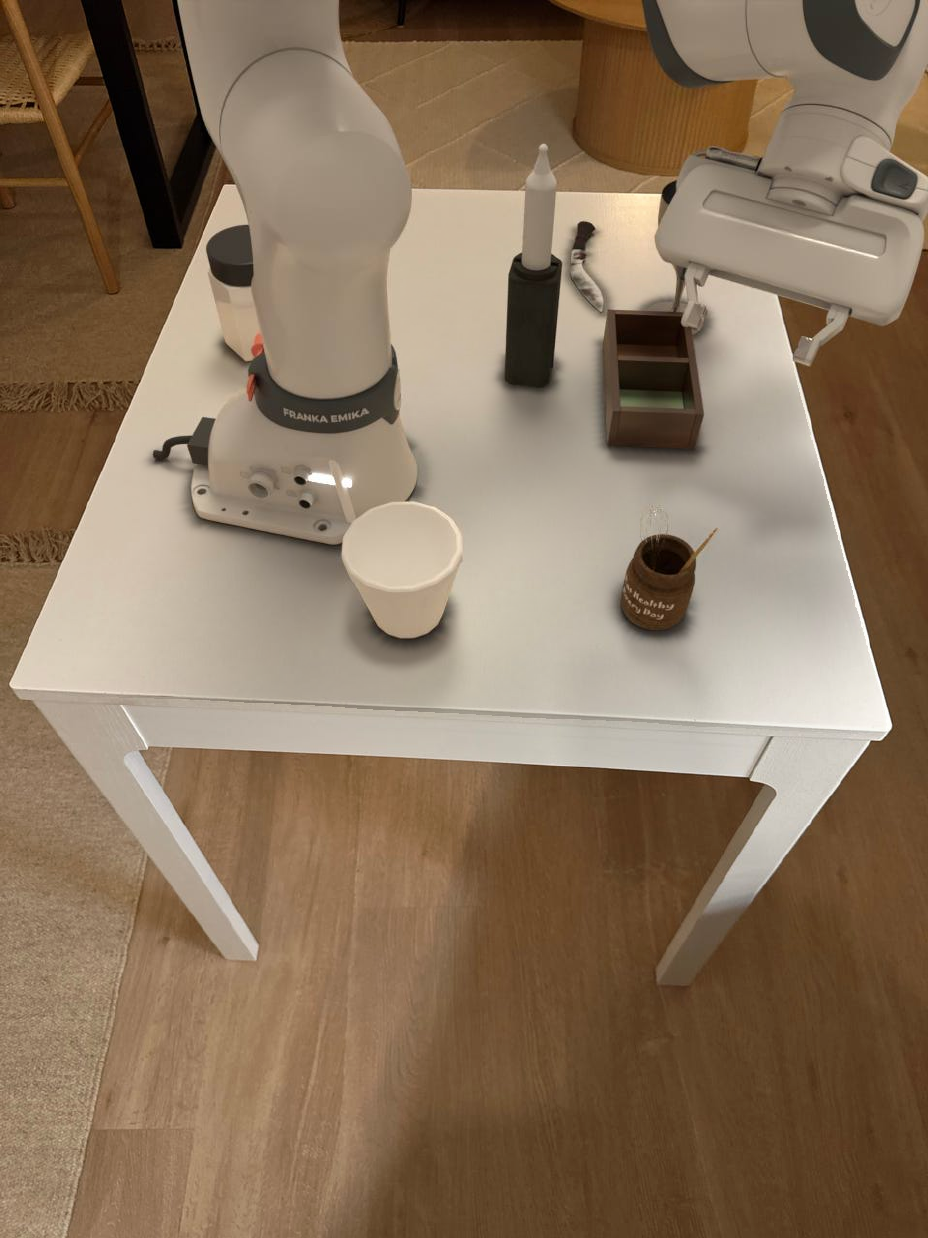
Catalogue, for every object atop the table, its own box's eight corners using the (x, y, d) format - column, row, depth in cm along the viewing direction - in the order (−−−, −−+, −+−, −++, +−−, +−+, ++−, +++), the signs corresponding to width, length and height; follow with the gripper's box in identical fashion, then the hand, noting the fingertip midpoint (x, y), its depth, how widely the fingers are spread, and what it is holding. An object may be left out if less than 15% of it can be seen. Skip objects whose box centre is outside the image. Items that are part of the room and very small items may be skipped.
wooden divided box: (607, 445, 94) (612, 410, 90) (602, 343, 104) (607, 308, 100) (695, 449, 93) (704, 414, 90) (681, 346, 104) (689, 311, 100)
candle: (547, 388, 99) (567, 160, 79) (502, 383, 100) (511, 154, 80) (554, 360, 102) (575, 133, 82) (510, 355, 103) (520, 128, 83)
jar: (315, 344, 104) (299, 247, 95) (254, 372, 101) (232, 275, 92) (274, 309, 108) (255, 213, 99) (214, 335, 105) (189, 239, 96)
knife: (624, 304, 107) (582, 309, 107) (623, 314, 108) (582, 319, 108) (594, 218, 118) (556, 223, 118) (593, 228, 119) (556, 233, 119)
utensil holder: (641, 571, 83) (664, 476, 74) (701, 605, 81) (732, 511, 71) (606, 610, 80) (624, 517, 71) (666, 646, 78) (694, 555, 68)
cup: (367, 563, 84) (357, 493, 76) (472, 577, 83) (472, 507, 75) (340, 650, 78) (326, 582, 70) (453, 666, 77) (451, 599, 69)
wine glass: (711, 339, 104) (743, 216, 92) (643, 339, 105) (666, 215, 93) (702, 300, 109) (731, 177, 97) (636, 299, 109) (657, 176, 97)
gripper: (687, 123, 70) (619, 296, 73) (956, 188, 64) (870, 376, 67) (697, 156, 76) (633, 316, 79) (944, 219, 70) (866, 390, 73)
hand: (744, 344), depth 73 cm, fingers open, 8 cm apart
